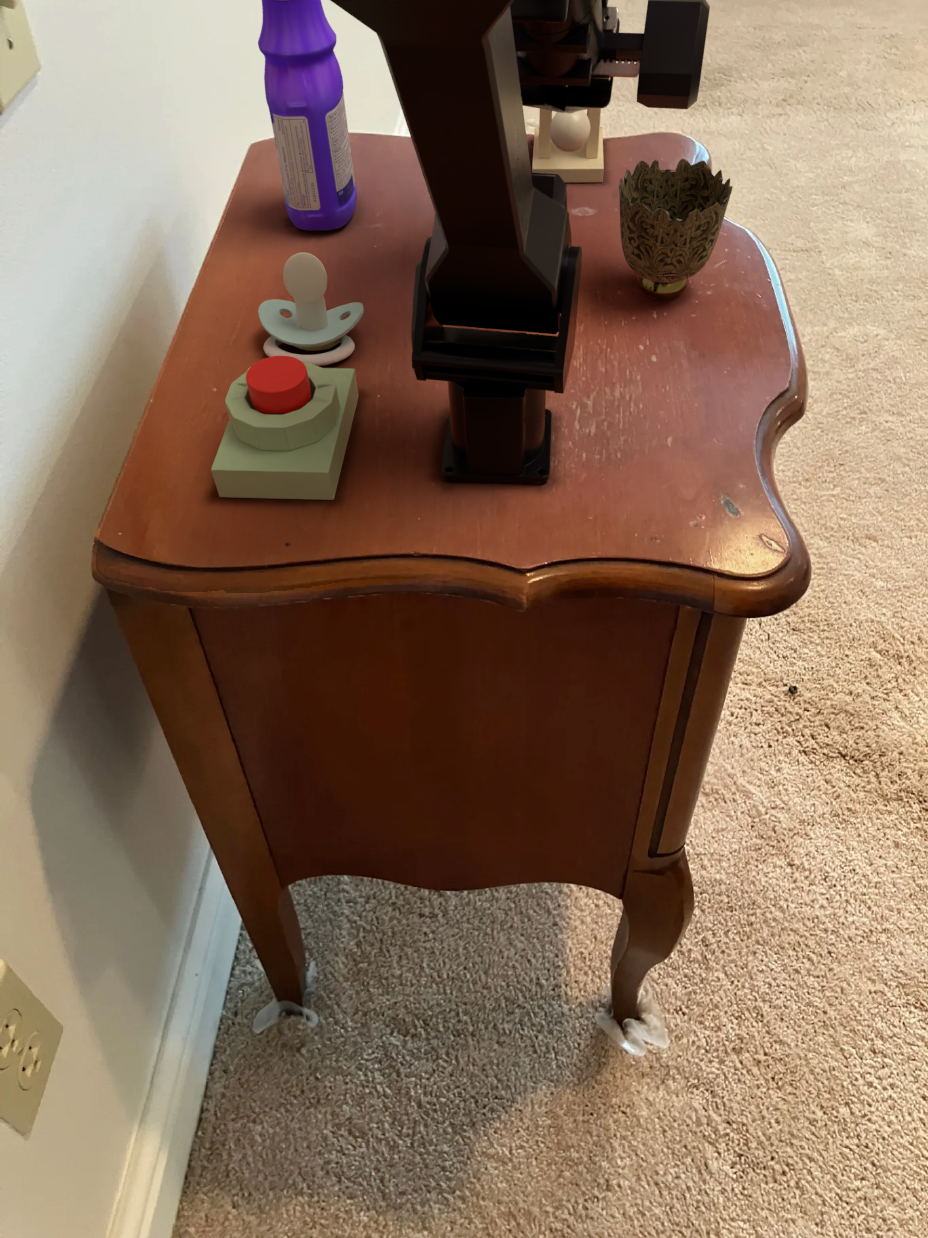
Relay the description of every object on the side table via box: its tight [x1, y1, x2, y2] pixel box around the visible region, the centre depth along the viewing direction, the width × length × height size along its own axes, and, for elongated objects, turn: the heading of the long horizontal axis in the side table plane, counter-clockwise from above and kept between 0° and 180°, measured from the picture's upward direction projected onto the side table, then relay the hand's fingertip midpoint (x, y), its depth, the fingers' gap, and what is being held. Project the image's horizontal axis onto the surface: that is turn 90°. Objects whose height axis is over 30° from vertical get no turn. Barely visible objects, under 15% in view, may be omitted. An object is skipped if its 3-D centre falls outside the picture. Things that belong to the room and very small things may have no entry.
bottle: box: [257, 0, 358, 231], centre depth 71 cm, size 7×6×17 cm
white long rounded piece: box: [550, 110, 590, 152], centre depth 75 cm, size 10×3×3 cm, turn 176°
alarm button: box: [246, 356, 311, 415], centre depth 56 cm, size 4×4×2 cm
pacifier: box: [257, 251, 364, 367], centre depth 64 cm, size 7×6×6 cm
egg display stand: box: [531, 108, 605, 183], centre depth 78 cm, size 8×6×10 cm
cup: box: [618, 158, 733, 301], centre depth 66 cm, size 8×7×8 cm
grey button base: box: [210, 361, 360, 501], centre depth 58 cm, size 10×7×4 cm
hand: (567, 105), depth 70 cm, fingers closed
